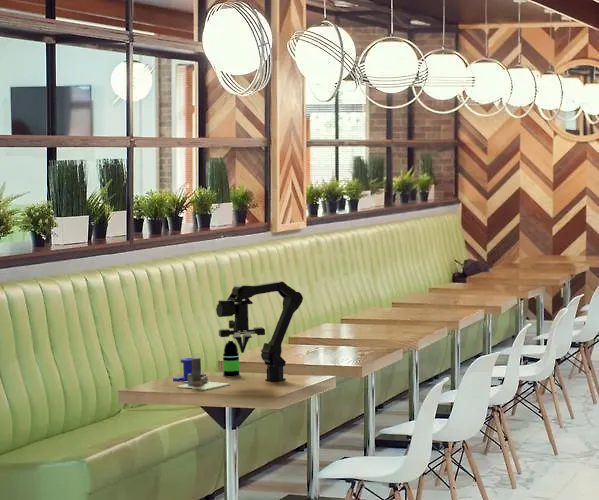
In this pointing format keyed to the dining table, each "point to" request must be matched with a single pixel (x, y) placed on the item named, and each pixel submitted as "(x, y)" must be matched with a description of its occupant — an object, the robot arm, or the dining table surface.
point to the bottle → (231, 360)
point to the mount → (185, 369)
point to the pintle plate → (204, 385)
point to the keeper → (191, 379)
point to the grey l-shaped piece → (197, 372)
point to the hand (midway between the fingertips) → (242, 352)
